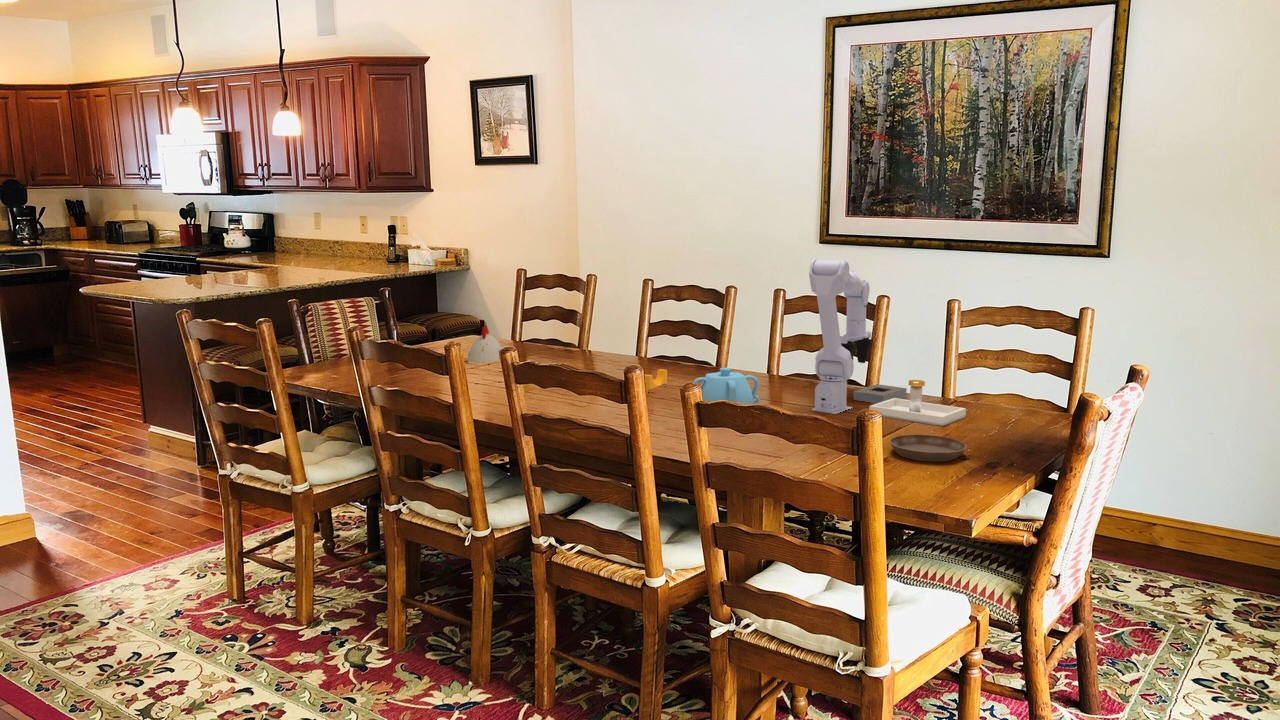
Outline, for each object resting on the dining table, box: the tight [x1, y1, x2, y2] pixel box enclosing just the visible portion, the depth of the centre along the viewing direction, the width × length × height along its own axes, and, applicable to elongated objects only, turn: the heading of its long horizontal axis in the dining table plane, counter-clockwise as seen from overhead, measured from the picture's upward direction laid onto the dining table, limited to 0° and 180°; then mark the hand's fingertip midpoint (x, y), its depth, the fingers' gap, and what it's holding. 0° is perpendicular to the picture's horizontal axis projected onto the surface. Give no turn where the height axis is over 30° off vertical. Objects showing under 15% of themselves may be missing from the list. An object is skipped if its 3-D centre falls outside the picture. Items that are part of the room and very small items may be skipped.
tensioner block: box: [852, 384, 908, 404], centre depth 301 cm, size 14×10×3 cm
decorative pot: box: [691, 367, 761, 404], centre depth 282 cm, size 16×16×14 cm
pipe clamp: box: [644, 369, 668, 394], centre depth 317 cm, size 12×4×6 cm, turn 151°
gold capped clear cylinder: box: [908, 379, 926, 413], centre depth 279 cm, size 4×4×9 cm
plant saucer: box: [889, 434, 967, 463], centre depth 239 cm, size 18×18×3 cm
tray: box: [868, 398, 967, 427], centre depth 279 cm, size 14×22×2 cm, turn 47°
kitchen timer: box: [467, 325, 504, 363], centre depth 367 cm, size 14×14×15 cm
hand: (855, 364), depth 302 cm, fingers open, 7 cm apart
